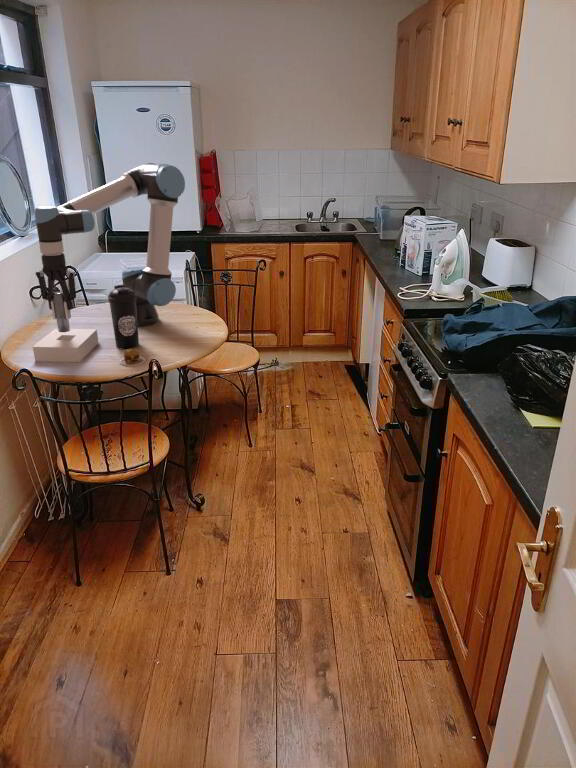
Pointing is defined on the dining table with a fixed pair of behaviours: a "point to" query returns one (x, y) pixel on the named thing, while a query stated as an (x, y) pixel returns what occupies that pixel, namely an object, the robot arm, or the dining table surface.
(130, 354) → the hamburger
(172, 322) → the dining table surface
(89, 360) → the dining table surface
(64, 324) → the steel pin
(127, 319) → the water bottle
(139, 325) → the robot arm
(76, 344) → the socket block
